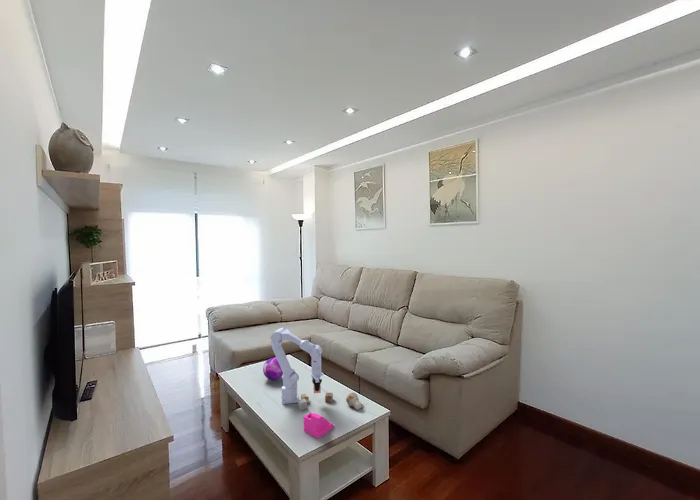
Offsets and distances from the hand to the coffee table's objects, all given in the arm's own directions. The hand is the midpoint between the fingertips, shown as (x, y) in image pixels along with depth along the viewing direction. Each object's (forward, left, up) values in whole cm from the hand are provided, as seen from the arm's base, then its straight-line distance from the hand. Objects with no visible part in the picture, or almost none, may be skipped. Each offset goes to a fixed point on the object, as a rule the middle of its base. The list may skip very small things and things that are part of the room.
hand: (316, 388), depth 191 cm
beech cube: (-7, +4, -9) cm, 12 cm away
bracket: (-1, -25, -9) cm, 27 cm away
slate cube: (-9, -2, -9) cm, 13 cm away
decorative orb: (-27, +38, -9) cm, 48 cm away
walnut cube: (+7, +2, -9) cm, 12 cm away
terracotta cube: (0, 0, -2) cm, 2 cm away
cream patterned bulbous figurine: (+22, -7, -9) cm, 25 cm away
